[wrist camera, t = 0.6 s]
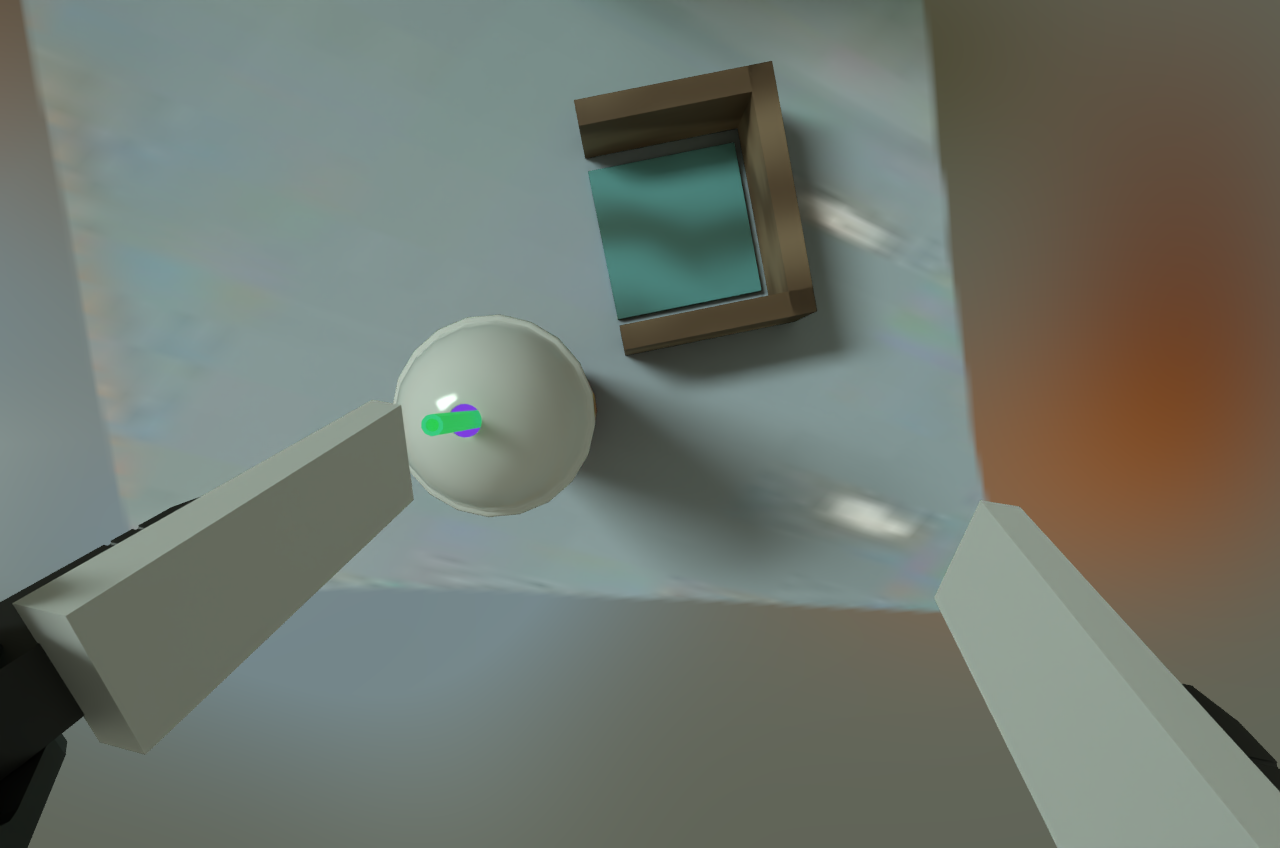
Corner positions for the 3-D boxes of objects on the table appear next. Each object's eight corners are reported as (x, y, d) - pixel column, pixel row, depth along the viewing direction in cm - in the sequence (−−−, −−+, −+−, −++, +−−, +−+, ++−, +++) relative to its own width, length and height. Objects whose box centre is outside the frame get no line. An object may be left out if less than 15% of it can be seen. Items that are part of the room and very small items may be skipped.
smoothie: (495, 475, 34) (306, 582, 14) (481, 355, 34) (265, 292, 14) (615, 462, 34) (593, 552, 14) (602, 343, 34) (561, 263, 14)
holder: (580, 136, 33) (574, 100, 29) (755, 101, 33) (772, 60, 29) (625, 355, 34) (624, 349, 30) (795, 321, 34) (817, 311, 30)
